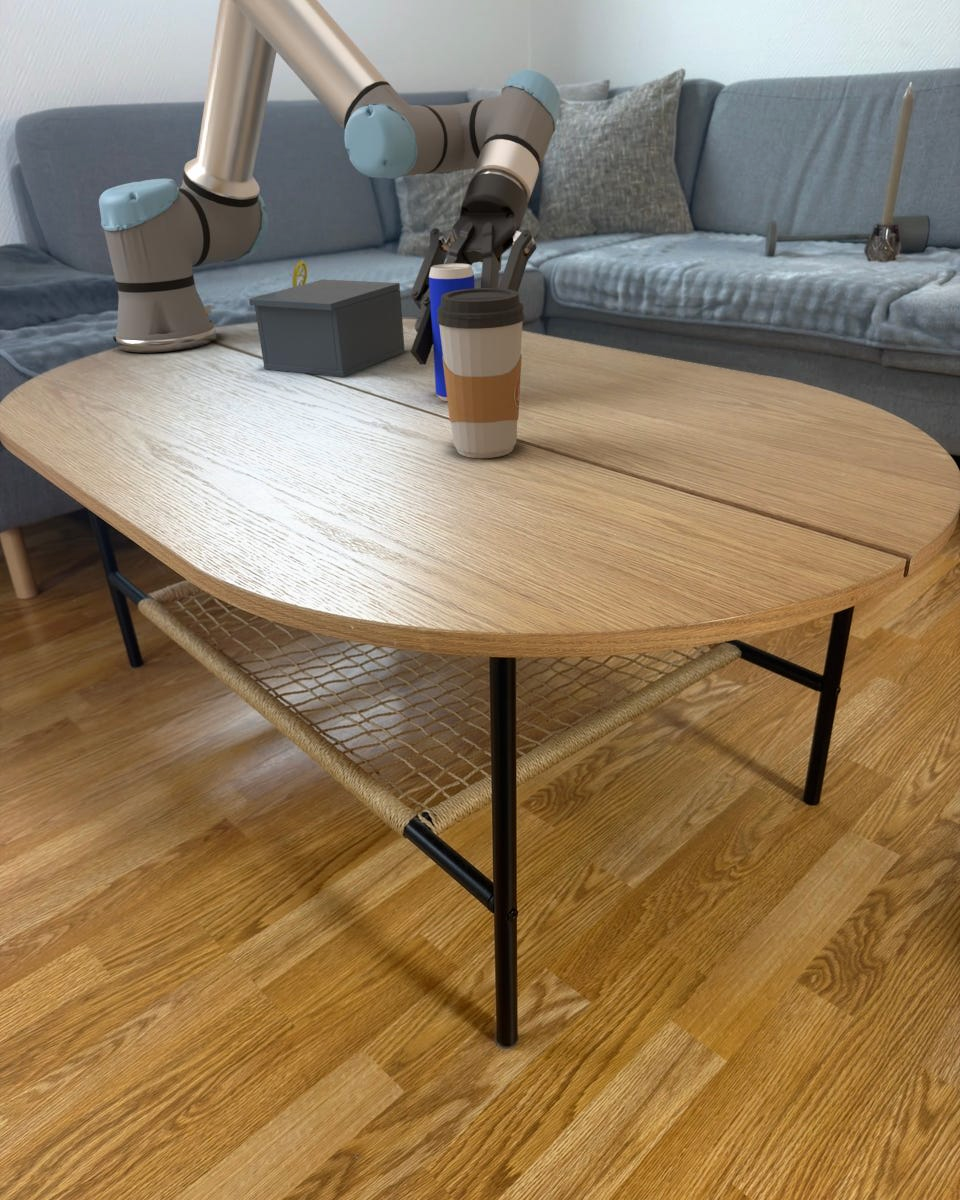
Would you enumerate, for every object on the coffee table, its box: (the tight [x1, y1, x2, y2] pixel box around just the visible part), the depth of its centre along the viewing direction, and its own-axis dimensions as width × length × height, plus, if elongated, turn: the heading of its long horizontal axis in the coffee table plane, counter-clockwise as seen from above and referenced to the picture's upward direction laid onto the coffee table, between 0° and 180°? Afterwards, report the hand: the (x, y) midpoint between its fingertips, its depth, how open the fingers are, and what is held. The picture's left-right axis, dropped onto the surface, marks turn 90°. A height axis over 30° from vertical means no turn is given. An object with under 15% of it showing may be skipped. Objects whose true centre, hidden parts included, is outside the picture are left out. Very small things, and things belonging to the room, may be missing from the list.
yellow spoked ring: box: [292, 260, 308, 287], centre depth 145 cm, size 13×3×10 cm
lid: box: [248, 279, 401, 310], centre depth 120 cm, size 16×14×1 cm
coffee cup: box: [437, 287, 526, 459], centre depth 85 cm, size 8×8×15 cm
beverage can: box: [429, 263, 476, 402], centre depth 102 cm, size 5×5×15 cm
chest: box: [254, 289, 406, 378], centre depth 123 cm, size 16×14×9 cm
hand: (439, 359), depth 100 cm, fingers closed on beverage can, 5 cm apart
